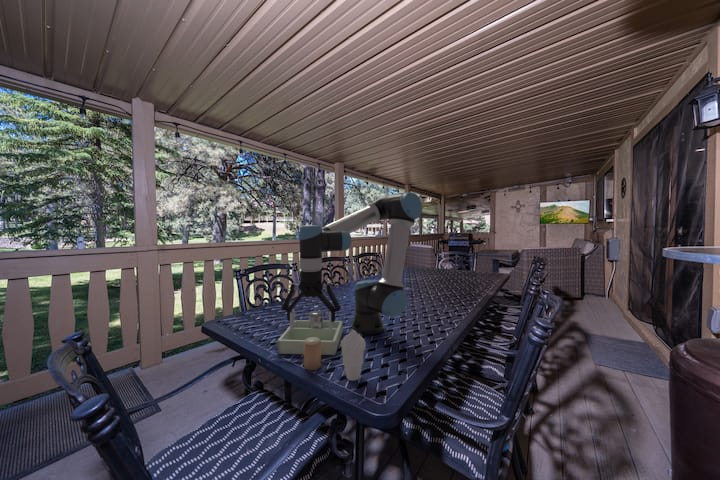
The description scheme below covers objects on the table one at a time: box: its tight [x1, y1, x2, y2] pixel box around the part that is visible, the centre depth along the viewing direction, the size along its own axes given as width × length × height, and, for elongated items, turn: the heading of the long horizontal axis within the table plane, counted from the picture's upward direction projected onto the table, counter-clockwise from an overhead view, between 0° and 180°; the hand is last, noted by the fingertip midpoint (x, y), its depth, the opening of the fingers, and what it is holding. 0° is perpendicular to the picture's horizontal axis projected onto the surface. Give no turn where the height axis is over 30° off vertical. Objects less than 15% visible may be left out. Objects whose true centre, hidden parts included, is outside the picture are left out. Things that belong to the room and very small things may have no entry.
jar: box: [303, 337, 322, 371], centre depth 95 cm, size 6×6×9 cm
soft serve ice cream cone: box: [339, 329, 367, 382], centre depth 87 cm, size 8×8×16 cm
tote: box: [276, 319, 344, 356], centre depth 112 cm, size 22×22×6 cm
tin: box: [308, 310, 324, 328], centre depth 118 cm, size 6×6×10 cm
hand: (311, 330), depth 95 cm, fingers open, 13 cm apart
